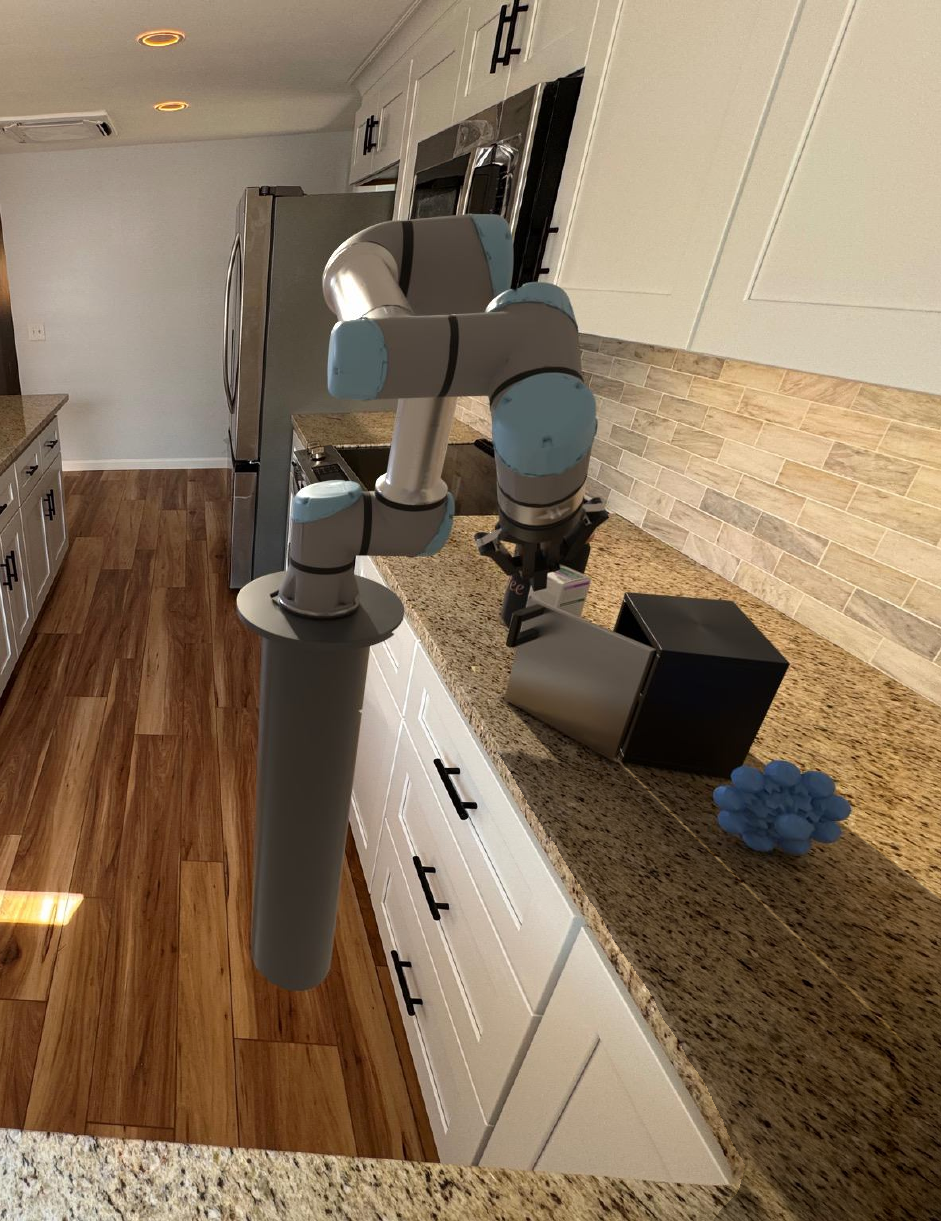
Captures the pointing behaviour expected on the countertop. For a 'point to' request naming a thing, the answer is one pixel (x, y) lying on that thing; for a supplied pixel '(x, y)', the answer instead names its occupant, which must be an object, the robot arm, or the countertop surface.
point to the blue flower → (781, 807)
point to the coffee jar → (520, 588)
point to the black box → (698, 683)
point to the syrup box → (564, 591)
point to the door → (576, 675)
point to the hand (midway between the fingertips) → (536, 580)
